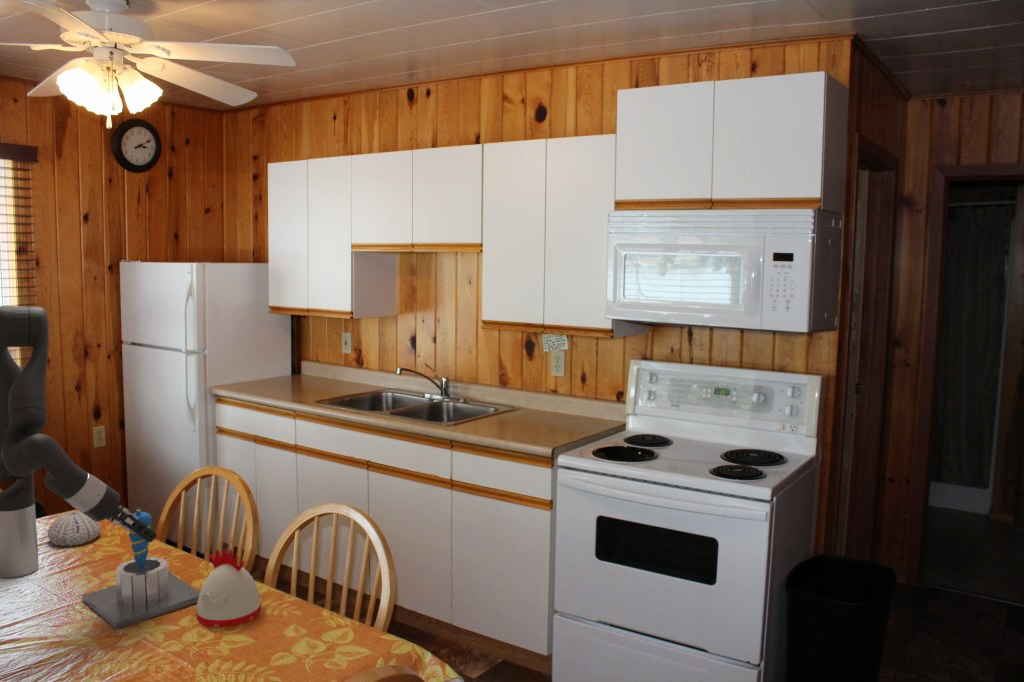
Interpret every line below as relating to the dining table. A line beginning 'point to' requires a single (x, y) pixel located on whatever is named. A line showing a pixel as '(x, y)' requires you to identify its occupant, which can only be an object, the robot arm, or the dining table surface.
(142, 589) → the tube on square plate
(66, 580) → the dining table surface
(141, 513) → the ornament
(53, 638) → the dining table surface
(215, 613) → the kitchen timer
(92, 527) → the sea urchin shell
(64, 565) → the dining table surface
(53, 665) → the dining table surface
